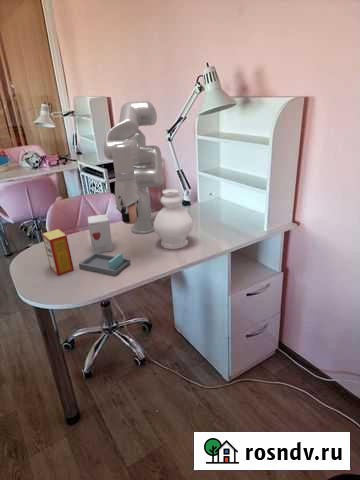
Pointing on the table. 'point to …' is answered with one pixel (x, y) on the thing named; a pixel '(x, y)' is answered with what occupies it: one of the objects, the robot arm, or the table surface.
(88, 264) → the pusher lane
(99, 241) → the supplement box
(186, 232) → the decorative vase
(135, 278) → the table surface
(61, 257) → the baking soda box
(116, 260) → the plate
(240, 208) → the table surface
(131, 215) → the tan egg shape
